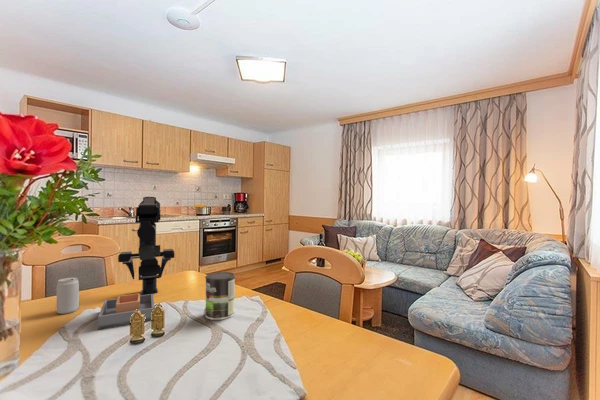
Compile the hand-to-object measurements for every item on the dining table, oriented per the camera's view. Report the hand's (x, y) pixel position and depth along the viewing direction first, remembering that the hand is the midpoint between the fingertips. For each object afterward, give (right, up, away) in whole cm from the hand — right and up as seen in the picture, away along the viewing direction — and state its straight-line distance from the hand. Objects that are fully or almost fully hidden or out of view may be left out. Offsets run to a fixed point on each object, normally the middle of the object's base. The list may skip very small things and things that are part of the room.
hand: (147, 277), depth 110 cm
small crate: (-3, -10, -8) cm, 13 cm away
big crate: (-3, -11, -8) cm, 14 cm away
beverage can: (-27, -12, -4) cm, 30 cm away
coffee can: (+30, -12, -7) cm, 33 cm away
